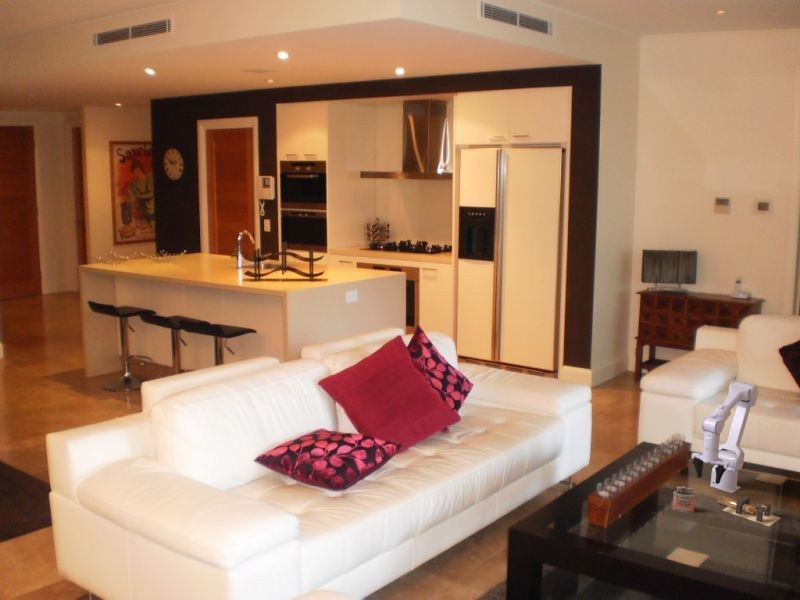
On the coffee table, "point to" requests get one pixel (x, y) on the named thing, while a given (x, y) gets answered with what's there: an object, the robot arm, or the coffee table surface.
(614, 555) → the coffee table surface
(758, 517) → the board
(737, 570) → the coffee table surface
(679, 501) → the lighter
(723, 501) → the tube
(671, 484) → the coffee table surface
